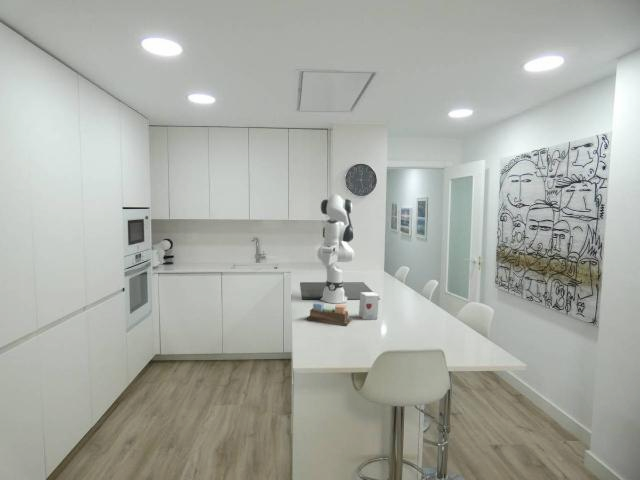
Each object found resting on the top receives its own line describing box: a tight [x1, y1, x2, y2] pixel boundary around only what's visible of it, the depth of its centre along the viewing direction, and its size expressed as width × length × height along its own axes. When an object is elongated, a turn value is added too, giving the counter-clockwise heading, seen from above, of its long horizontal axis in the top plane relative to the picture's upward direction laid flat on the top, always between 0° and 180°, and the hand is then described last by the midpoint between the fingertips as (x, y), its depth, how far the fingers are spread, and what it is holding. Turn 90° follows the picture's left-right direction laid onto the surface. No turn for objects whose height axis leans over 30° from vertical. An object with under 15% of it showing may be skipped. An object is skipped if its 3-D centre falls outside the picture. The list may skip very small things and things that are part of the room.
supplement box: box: [358, 291, 380, 321], centre depth 241 cm, size 9×9×15 cm
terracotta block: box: [334, 304, 347, 314], centre depth 228 cm, size 5×5×5 cm
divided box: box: [305, 307, 352, 327], centre depth 230 cm, size 10×24×6 cm, turn 73°
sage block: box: [324, 307, 335, 313], centre depth 230 cm, size 5×5×5 cm
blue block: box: [312, 301, 325, 311], centre depth 232 cm, size 5×5×5 cm
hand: (330, 270), depth 233 cm, fingers closed
